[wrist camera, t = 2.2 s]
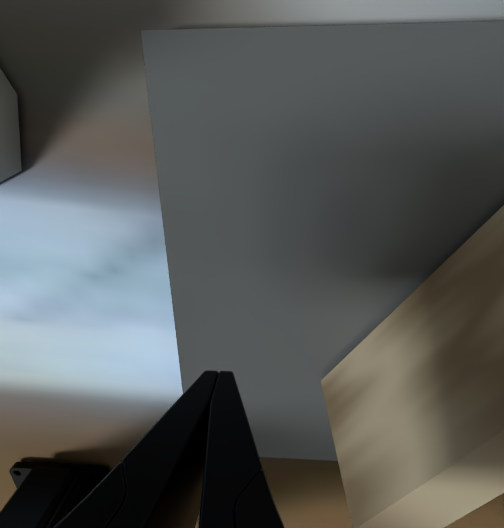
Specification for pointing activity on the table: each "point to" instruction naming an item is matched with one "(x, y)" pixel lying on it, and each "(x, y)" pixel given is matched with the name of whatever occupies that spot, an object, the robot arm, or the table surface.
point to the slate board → (314, 194)
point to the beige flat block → (427, 397)
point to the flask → (9, 130)
